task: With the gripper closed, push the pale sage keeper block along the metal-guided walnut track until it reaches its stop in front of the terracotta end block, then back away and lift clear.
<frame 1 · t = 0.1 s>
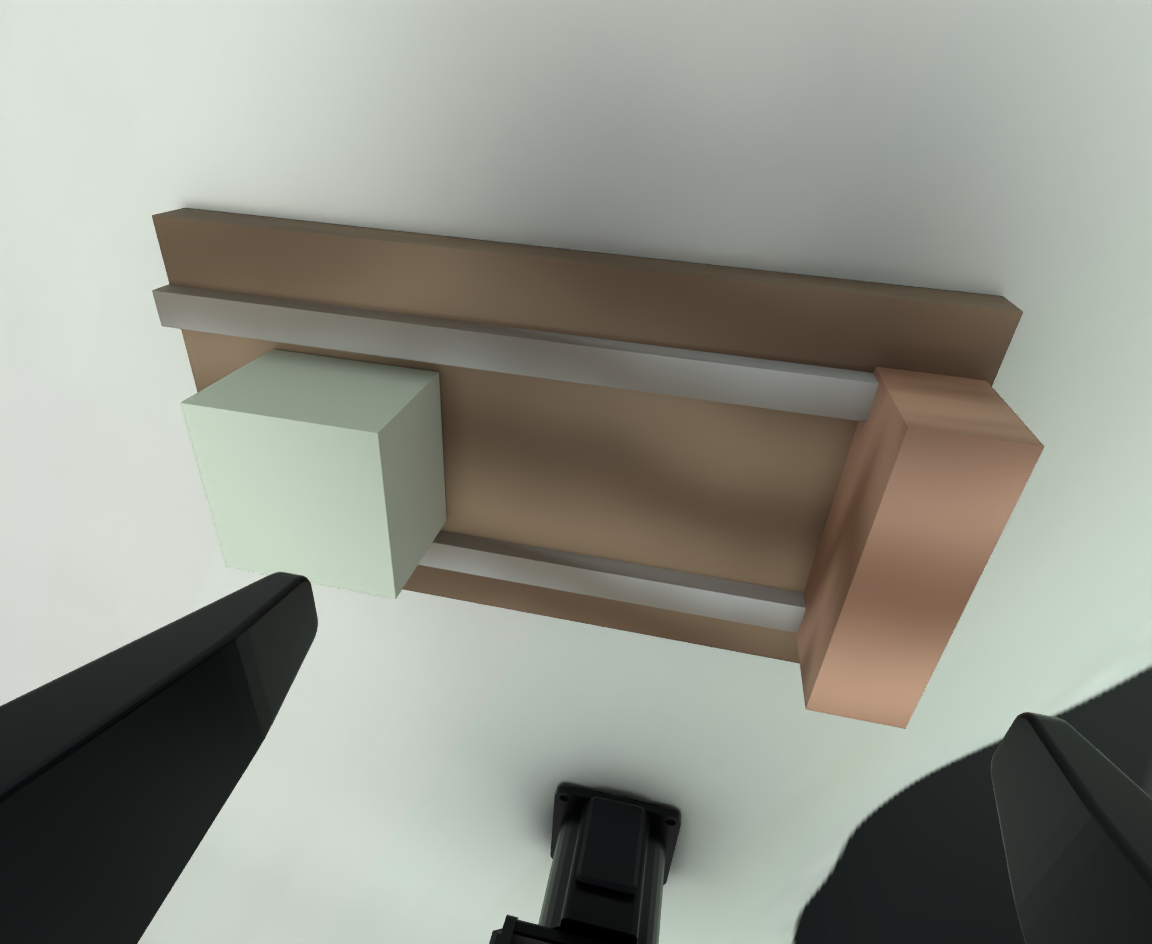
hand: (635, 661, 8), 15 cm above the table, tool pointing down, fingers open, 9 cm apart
keeper: (332, 469, 22), point 4 cm above the table, slide at 0.0 cm
track: (549, 444, 24), on the table
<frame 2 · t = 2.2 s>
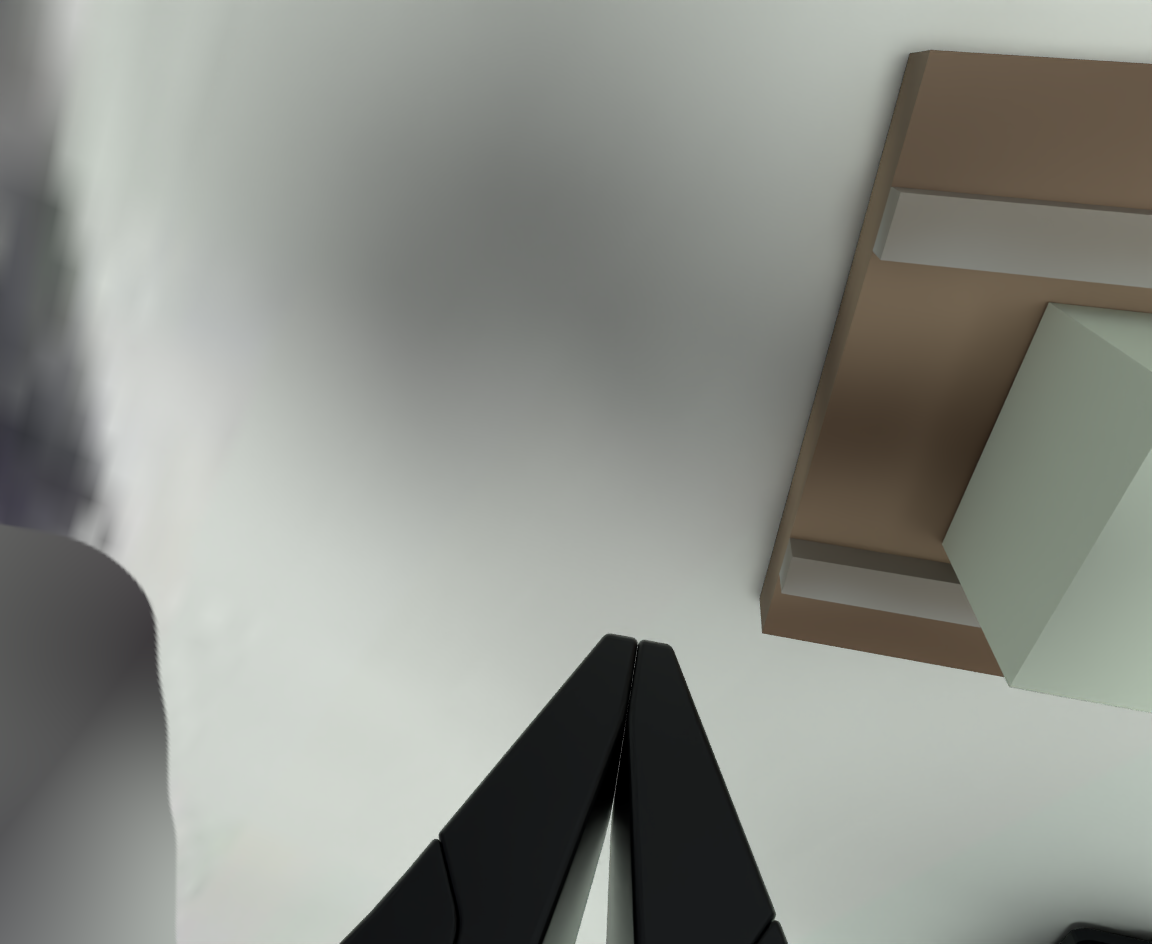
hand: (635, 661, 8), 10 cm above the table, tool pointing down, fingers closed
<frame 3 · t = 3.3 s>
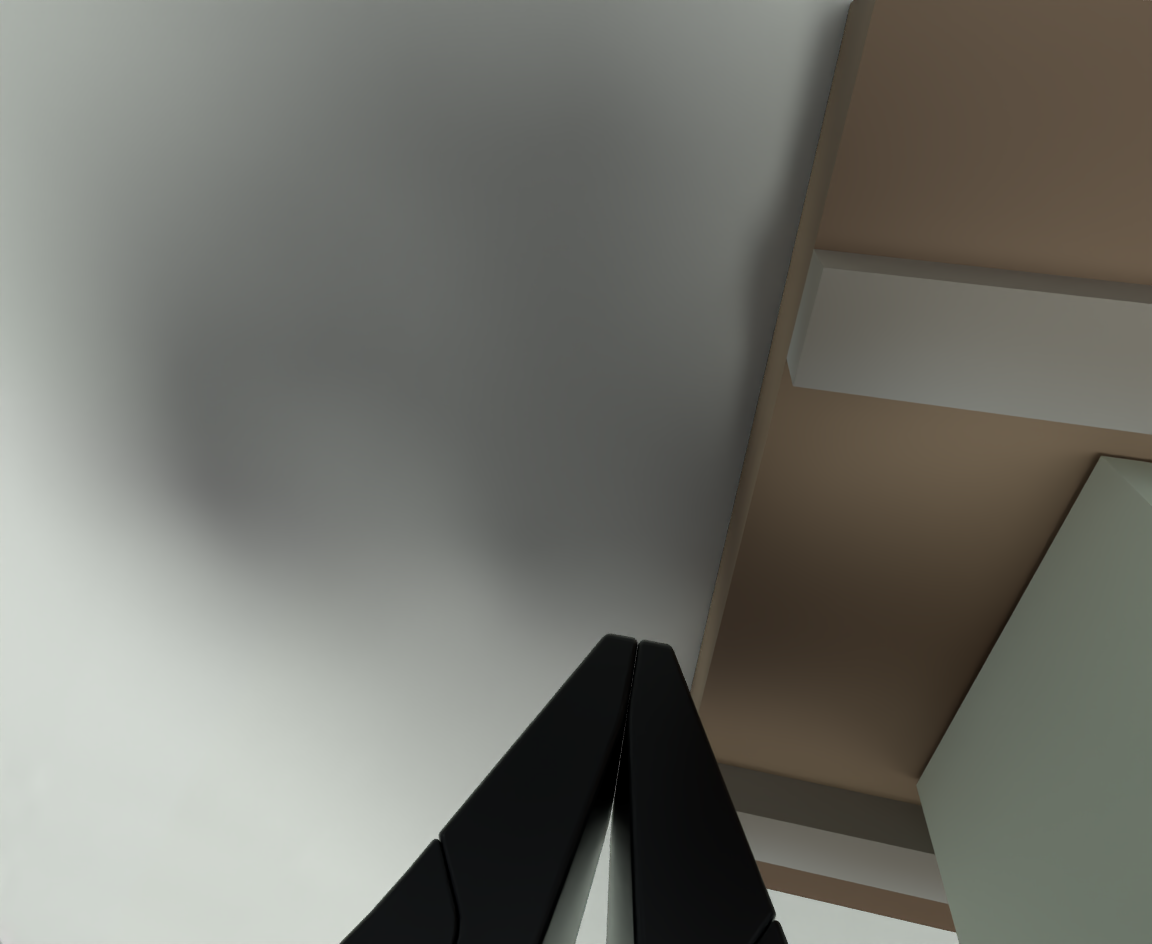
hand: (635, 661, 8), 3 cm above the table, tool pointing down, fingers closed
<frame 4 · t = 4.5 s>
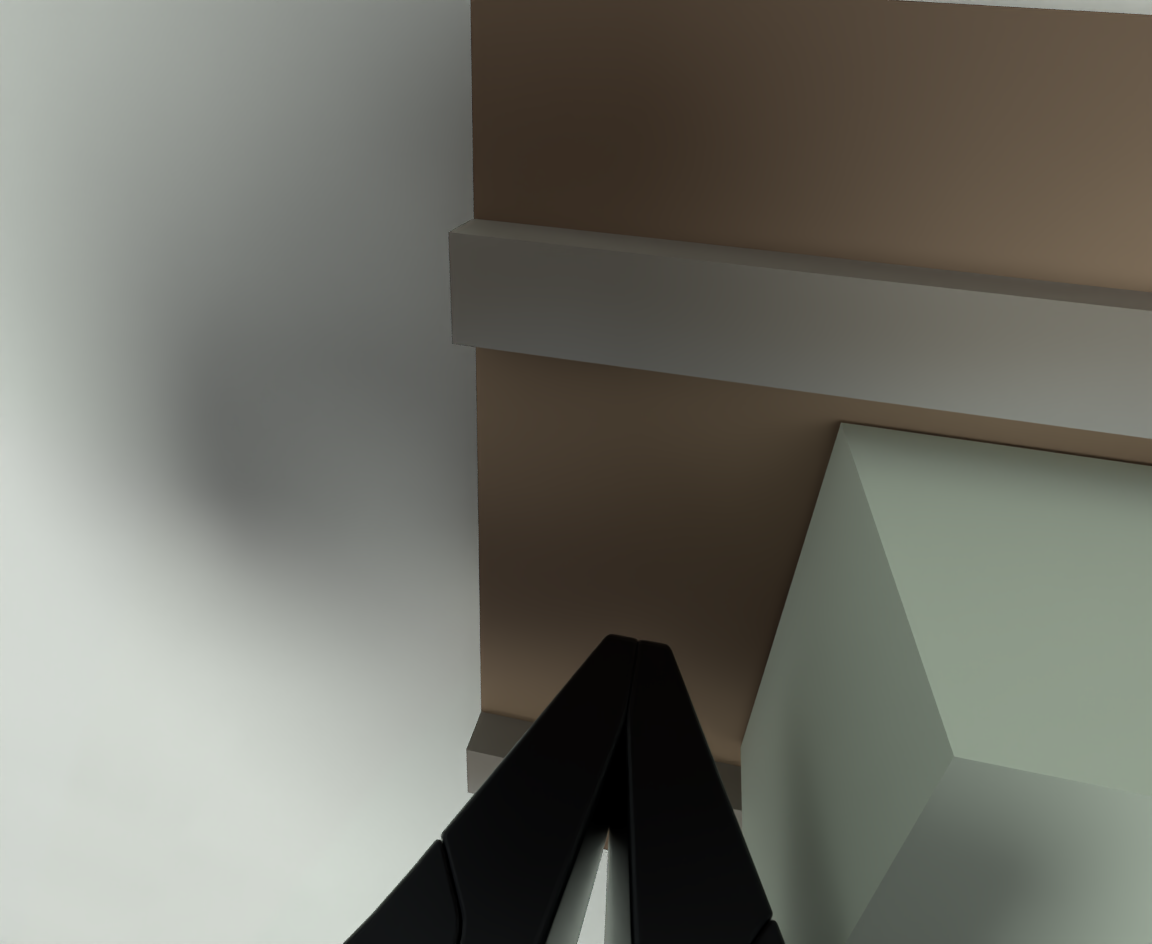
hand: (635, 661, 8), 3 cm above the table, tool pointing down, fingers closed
keeper: (1087, 810, 7), point 4 cm above the table, slide at 1.0 cm, touching gripper
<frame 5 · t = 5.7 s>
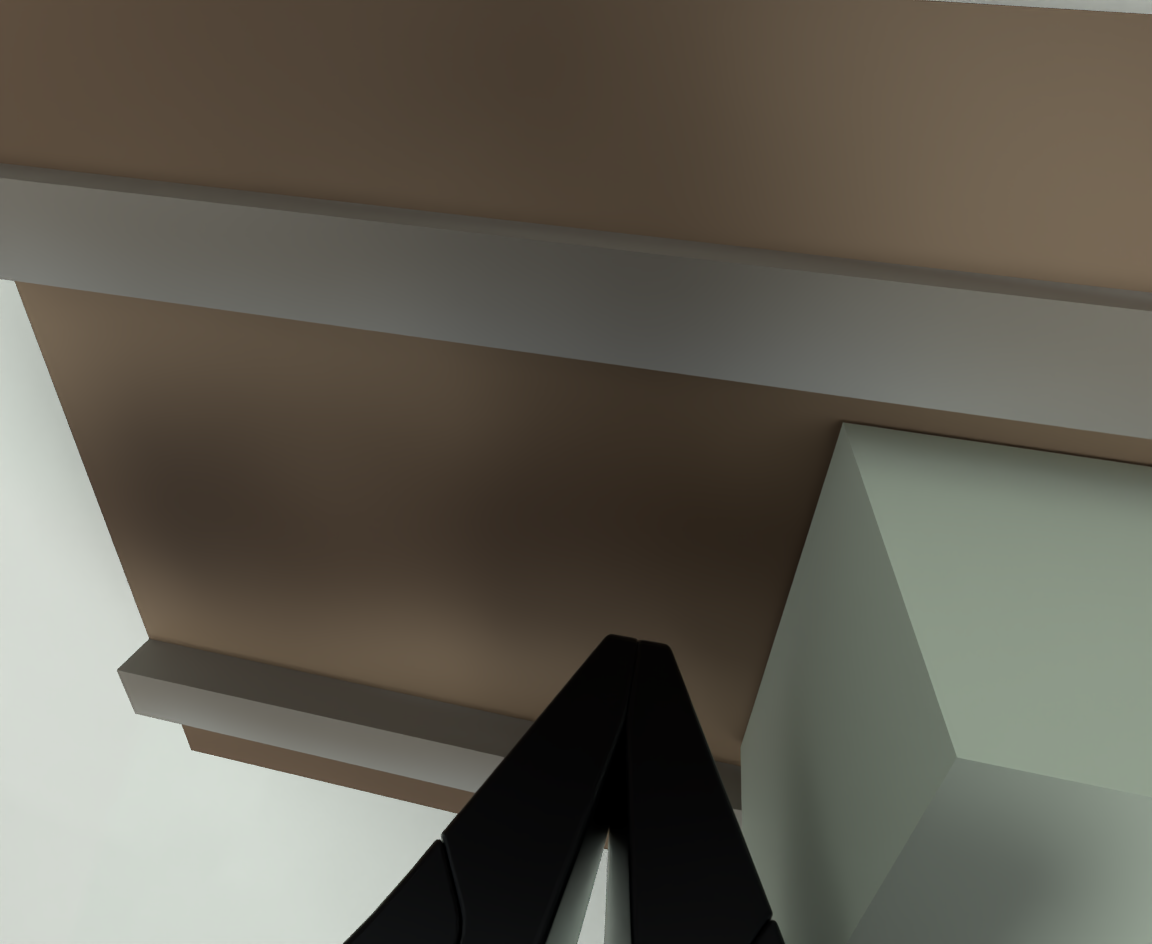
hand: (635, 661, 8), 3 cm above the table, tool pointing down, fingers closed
keeper: (1088, 811, 7), point 4 cm above the table, slide at 7.7 cm, touching gripper
track: (896, 565, 10), on the table
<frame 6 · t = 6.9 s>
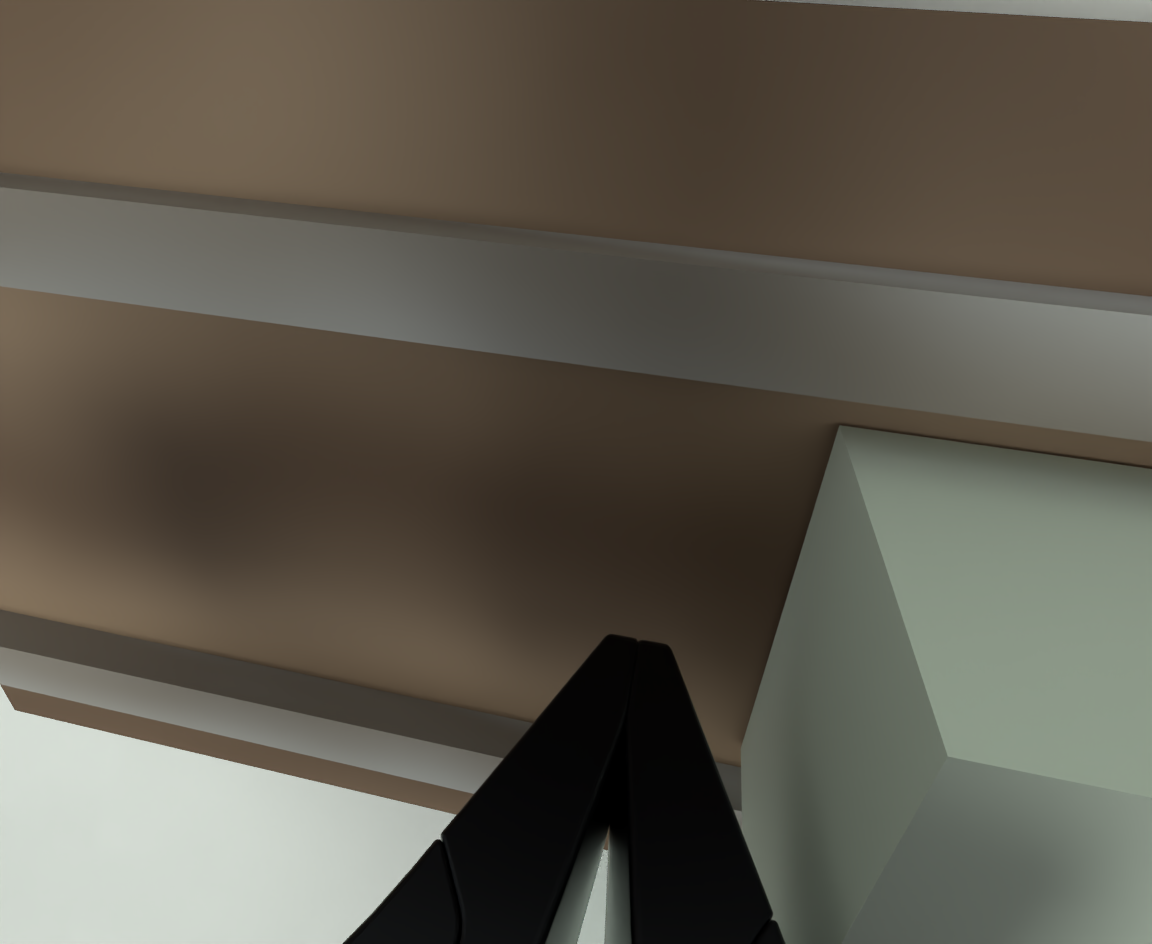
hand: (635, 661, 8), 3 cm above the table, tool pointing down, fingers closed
keeper: (1085, 810, 7), point 4 cm above the table, slide at 12.3 cm, touching gripper
track: (606, 518, 11), on the table
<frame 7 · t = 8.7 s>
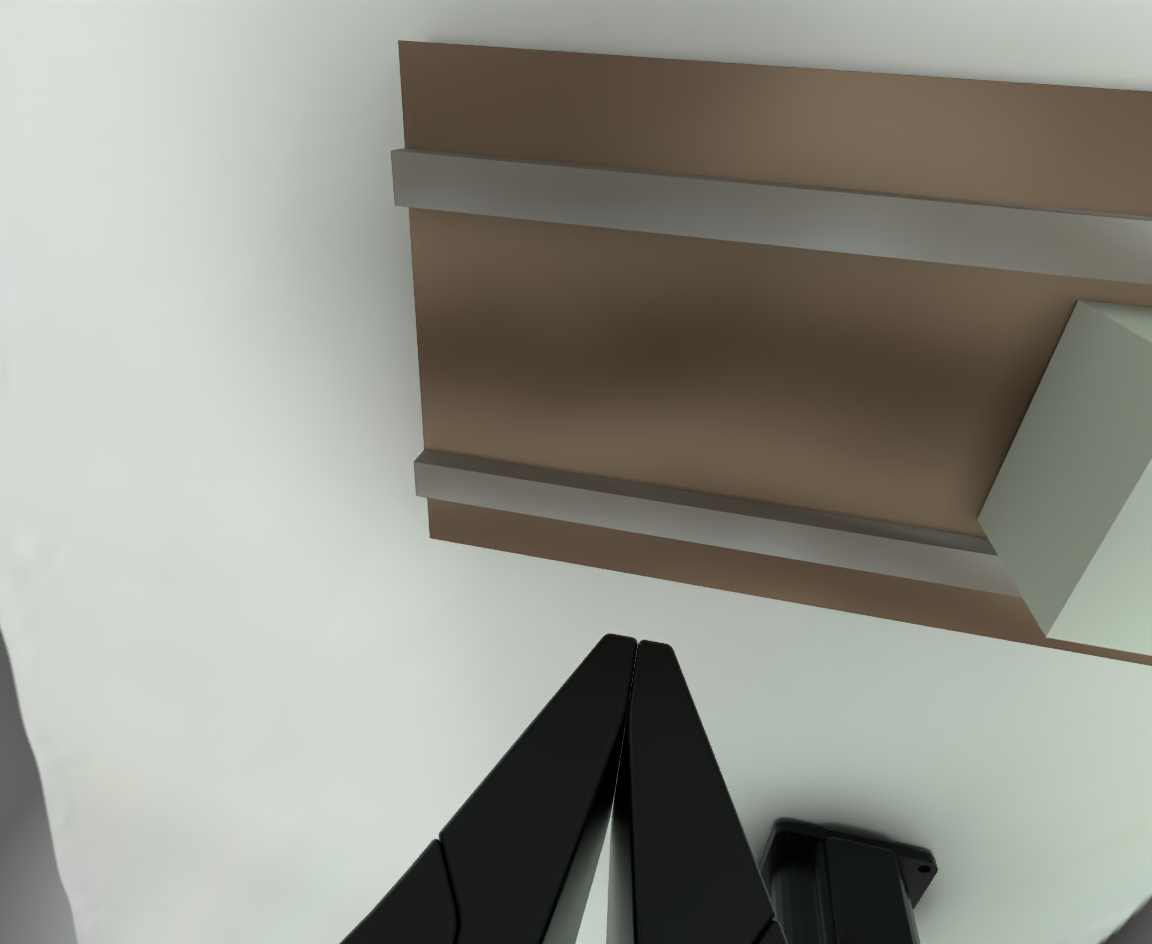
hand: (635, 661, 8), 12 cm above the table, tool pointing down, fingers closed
track: (888, 380, 18), on the table
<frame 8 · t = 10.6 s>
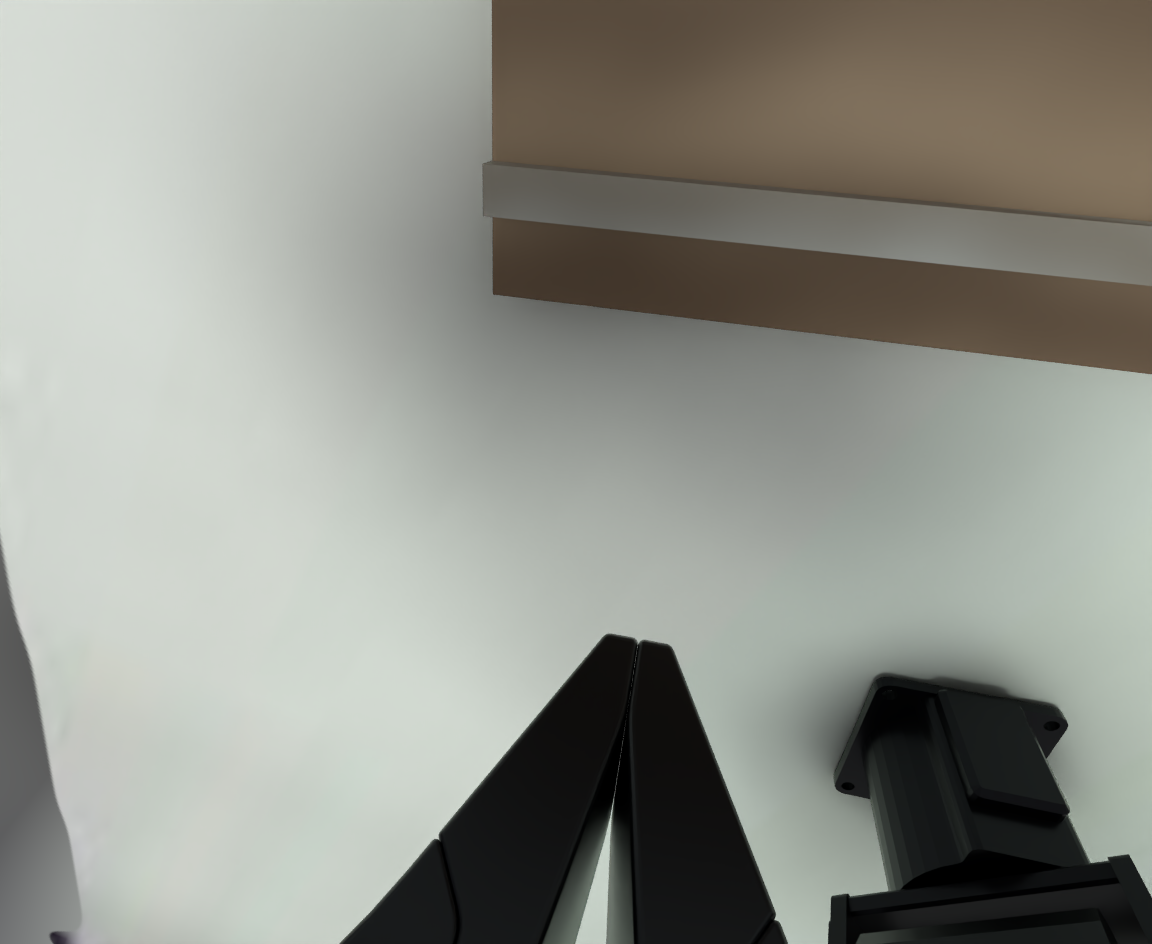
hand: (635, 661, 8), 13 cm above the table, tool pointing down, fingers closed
track: (1088, 25, 14), on the table
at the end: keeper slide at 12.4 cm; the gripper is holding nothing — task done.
